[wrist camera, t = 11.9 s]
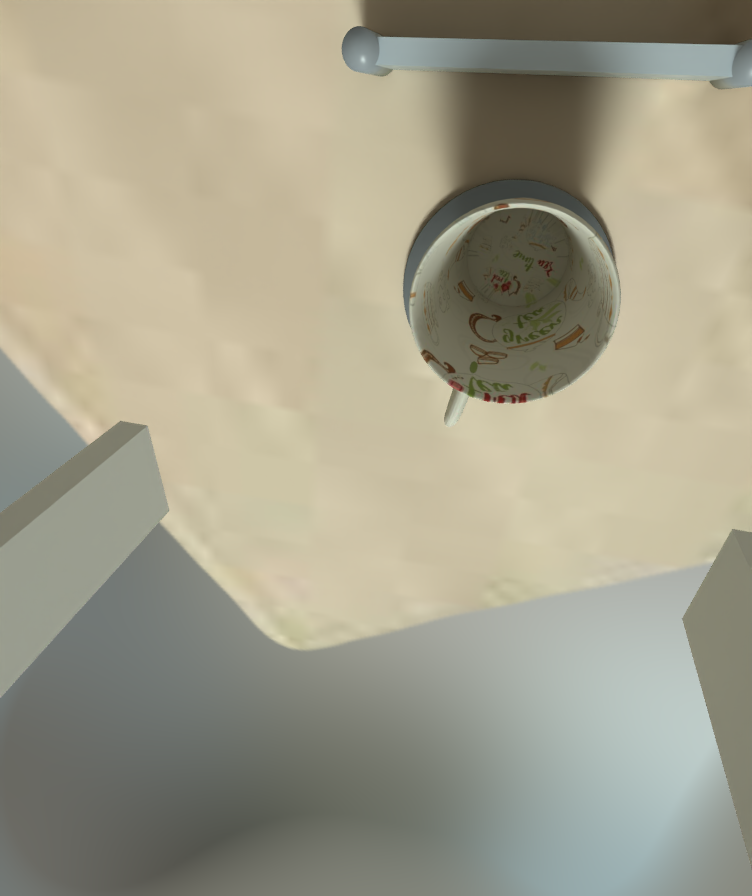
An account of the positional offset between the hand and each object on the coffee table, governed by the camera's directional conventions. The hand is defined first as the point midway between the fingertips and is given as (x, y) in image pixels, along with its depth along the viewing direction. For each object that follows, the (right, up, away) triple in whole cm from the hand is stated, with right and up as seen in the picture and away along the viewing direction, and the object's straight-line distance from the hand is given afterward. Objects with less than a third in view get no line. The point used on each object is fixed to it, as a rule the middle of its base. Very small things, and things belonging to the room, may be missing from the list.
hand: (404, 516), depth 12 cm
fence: (+7, +20, +13) cm, 25 cm away
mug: (+7, +11, +18) cm, 22 cm away
